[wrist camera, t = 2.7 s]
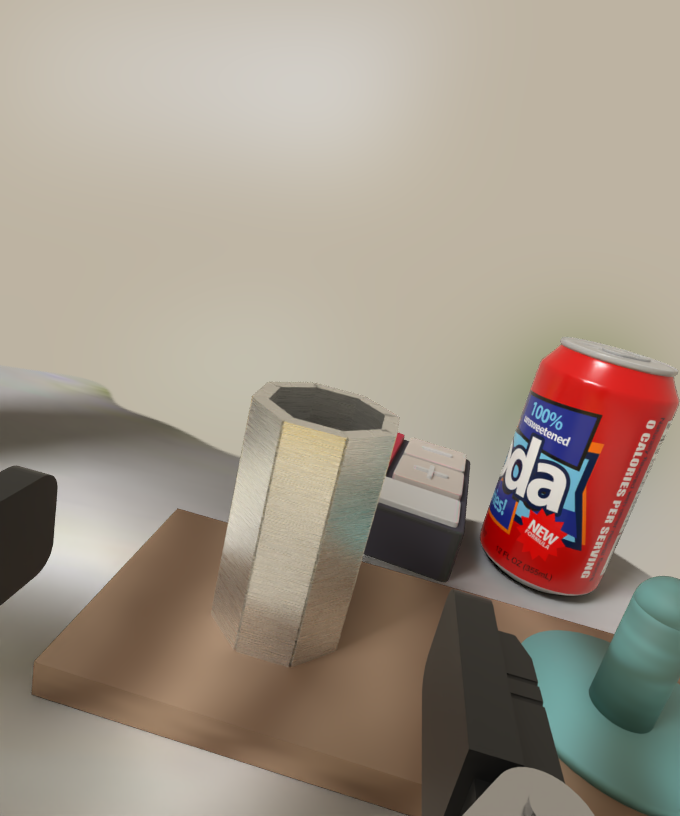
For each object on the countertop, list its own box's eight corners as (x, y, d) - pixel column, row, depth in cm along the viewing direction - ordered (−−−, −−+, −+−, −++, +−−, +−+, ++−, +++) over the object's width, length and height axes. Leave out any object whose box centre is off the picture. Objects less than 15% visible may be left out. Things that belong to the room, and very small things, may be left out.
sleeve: (195, 589, 25) (232, 381, 22) (298, 565, 29) (343, 383, 25) (253, 681, 21) (308, 441, 18) (365, 640, 24) (427, 433, 21)
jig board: (31, 694, 20) (46, 486, 17) (174, 531, 31) (195, 391, 29) (891, 969, 18) (1054, 779, 15) (710, 687, 29) (786, 551, 27)
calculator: (473, 451, 46) (468, 523, 32) (458, 498, 47) (446, 587, 33) (348, 412, 48) (291, 463, 34) (336, 458, 49) (276, 525, 35)
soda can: (619, 613, 34) (726, 383, 29) (502, 599, 33) (596, 355, 28) (557, 541, 41) (635, 348, 37) (459, 527, 40) (528, 324, 35)
